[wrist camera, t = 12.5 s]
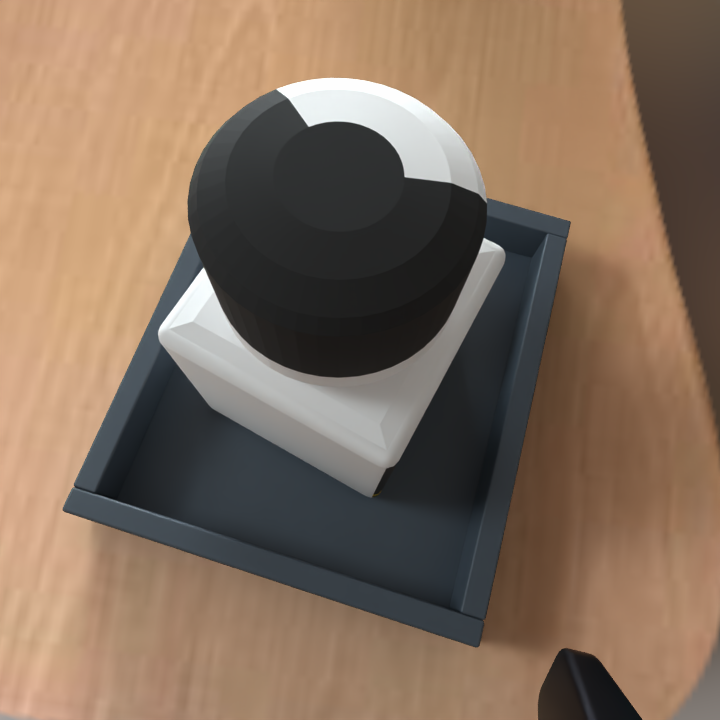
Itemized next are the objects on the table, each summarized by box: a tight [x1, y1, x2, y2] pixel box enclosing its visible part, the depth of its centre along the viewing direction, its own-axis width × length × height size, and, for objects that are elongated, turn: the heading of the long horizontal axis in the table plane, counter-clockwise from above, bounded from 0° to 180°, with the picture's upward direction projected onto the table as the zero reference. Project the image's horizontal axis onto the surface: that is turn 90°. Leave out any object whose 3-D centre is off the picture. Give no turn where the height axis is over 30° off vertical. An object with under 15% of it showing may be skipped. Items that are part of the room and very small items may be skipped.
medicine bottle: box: [158, 78, 505, 498], centre depth 17 cm, size 7×7×12 cm
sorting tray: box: [63, 198, 571, 647], centre depth 22 cm, size 16×14×2 cm
